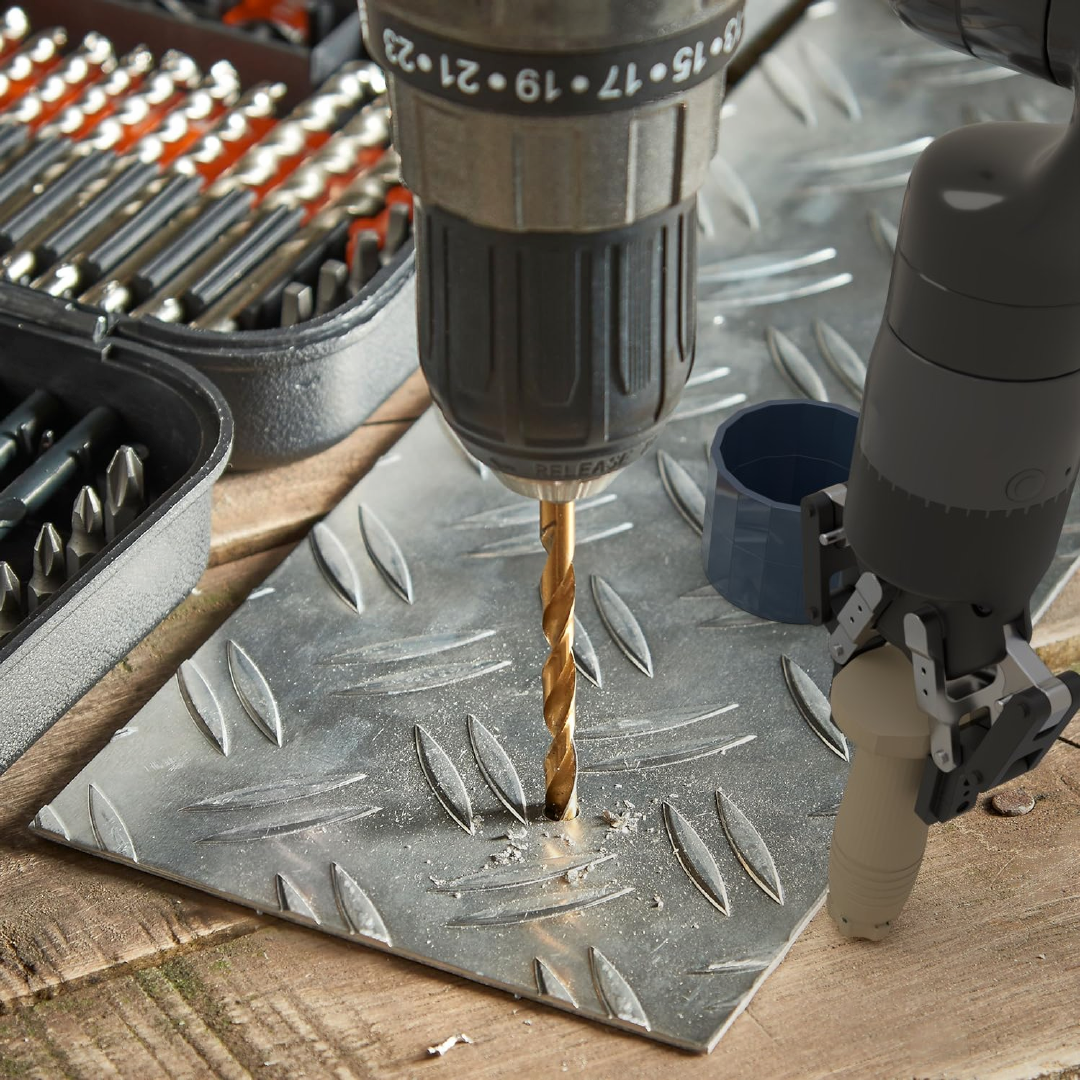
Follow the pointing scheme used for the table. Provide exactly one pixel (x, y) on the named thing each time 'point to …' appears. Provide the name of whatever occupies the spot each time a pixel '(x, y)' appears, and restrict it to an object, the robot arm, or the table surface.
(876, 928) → the handle
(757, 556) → the pot
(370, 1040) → the table surface
